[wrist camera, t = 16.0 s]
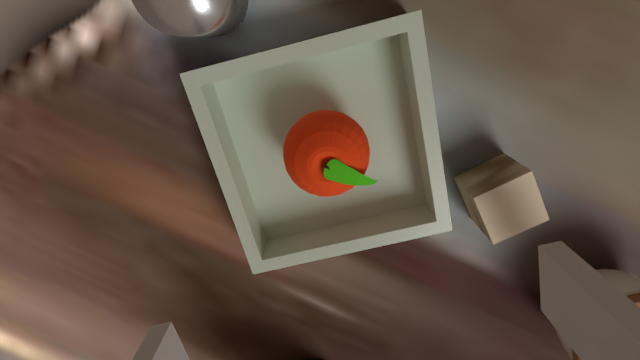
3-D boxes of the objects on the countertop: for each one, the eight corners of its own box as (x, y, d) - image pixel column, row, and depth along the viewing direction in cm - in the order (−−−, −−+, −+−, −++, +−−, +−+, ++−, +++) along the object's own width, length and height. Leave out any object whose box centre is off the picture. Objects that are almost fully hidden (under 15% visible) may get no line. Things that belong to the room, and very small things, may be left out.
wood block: (503, 153, 36) (531, 170, 31) (520, 196, 37) (549, 219, 33) (453, 177, 36) (473, 198, 32) (471, 218, 38) (493, 244, 33)
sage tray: (406, 13, 31) (421, 9, 27) (436, 208, 37) (452, 230, 33) (196, 68, 32) (179, 73, 28) (259, 248, 39) (253, 274, 35)
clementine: (389, 127, 33) (407, 150, 27) (354, 194, 36) (363, 231, 29) (304, 89, 32) (301, 103, 26) (274, 161, 34) (264, 191, 28)
